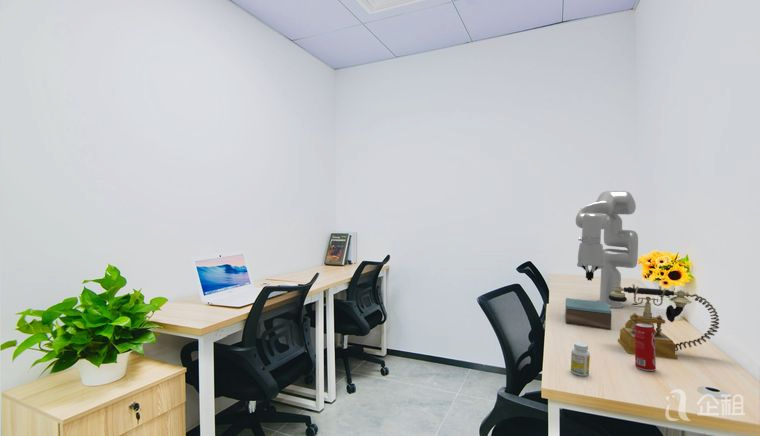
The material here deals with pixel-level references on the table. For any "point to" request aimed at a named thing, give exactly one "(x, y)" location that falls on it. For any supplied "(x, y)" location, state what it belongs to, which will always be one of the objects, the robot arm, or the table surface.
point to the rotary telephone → (658, 319)
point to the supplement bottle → (580, 359)
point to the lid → (588, 305)
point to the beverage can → (645, 346)
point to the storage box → (588, 318)
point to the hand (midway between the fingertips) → (589, 280)
